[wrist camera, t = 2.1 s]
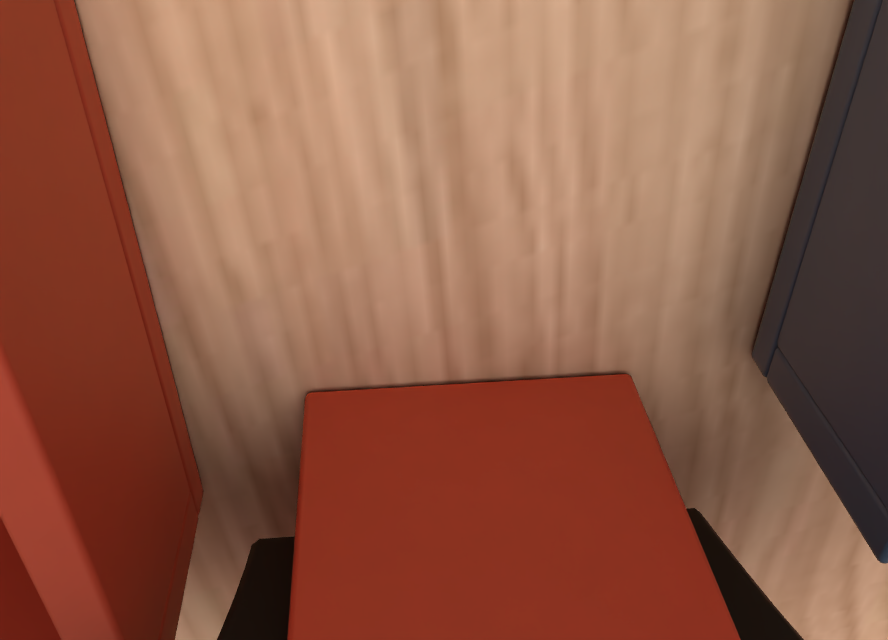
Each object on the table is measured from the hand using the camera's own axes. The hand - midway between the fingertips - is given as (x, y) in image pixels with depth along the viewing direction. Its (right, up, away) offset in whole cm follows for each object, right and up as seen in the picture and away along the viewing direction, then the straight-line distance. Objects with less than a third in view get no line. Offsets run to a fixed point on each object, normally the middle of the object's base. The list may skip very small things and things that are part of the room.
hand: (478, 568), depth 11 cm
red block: (0, +1, +1) cm, 1 cm away
